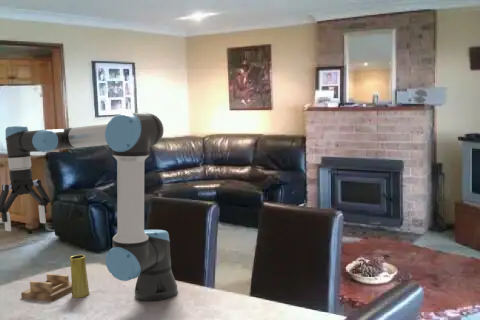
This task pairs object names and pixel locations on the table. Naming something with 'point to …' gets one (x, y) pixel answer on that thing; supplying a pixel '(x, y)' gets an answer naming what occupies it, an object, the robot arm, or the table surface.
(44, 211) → the robot arm
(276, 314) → the table surface
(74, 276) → the vase
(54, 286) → the holder
